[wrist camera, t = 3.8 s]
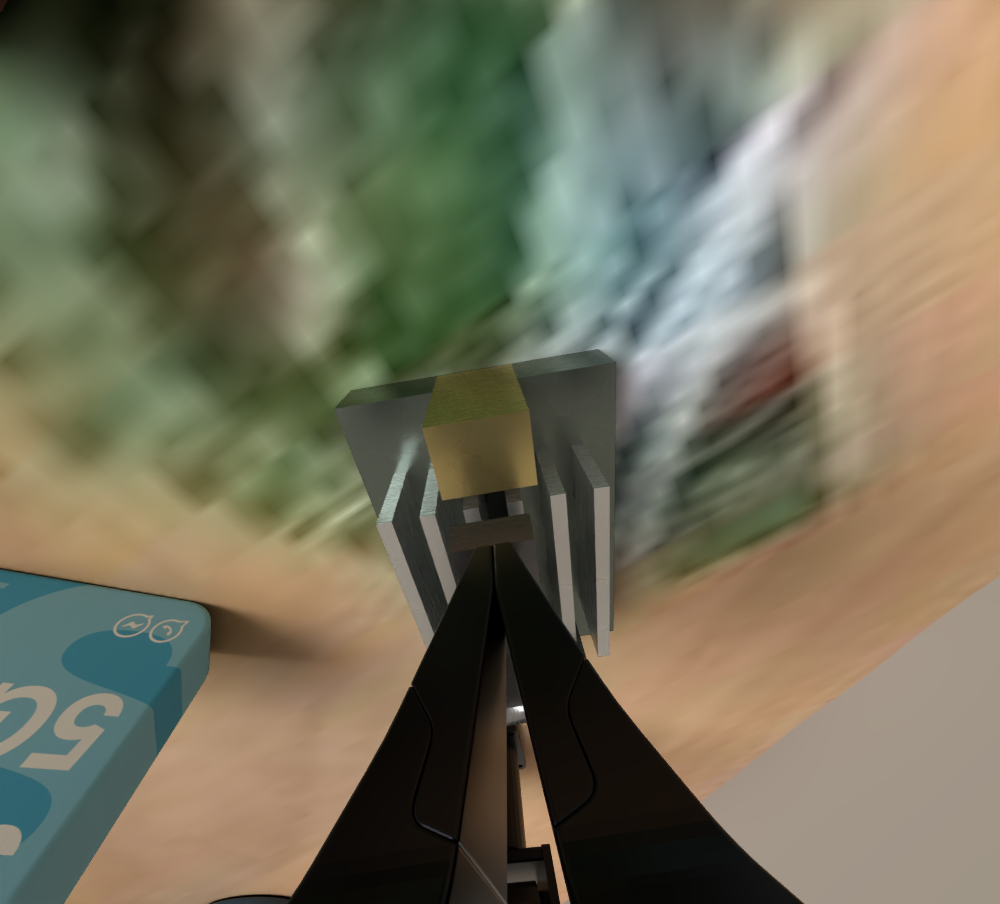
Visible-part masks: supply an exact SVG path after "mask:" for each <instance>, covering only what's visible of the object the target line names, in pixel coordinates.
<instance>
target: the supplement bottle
mask: <svg viewBox="0 0 1000 904" xmlns="http://www.w3.org/2000/svg"><path fill="white" fill-rule="evenodd" d="M7 1H8V0H0V12H1V11H2V10H3V8H4V5H5V4H6V2H7Z"/></svg>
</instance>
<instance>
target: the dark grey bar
mask: <svg viewBox="0 0 1000 904" xmlns="http://www.w3.org/2000/svg"><path fill="white" fill-rule="evenodd" d="M505 542H509V543H511V545H512V546H513V548H514V549H515V551H516V552H517V554H518V555H519V557H520V558H521V560H522V561H523V563H524V564H525V566H526V567H527V569H528V570H529V572H530V573H531V575H532V576H533V578H534V579H535V581H536V582H537V584H538V585H539V587H540V580H539V571H538V562H537V554H536V545H535V538H534V533H533V528H532V523H531V519H530V514H529V513H526V514H520V515H514V516H508V517H502V518H496V519H490V520H483V521H477V522H471V523H465V524H459V525H453V526H450V541H449V554H450V556H451V559H452V562H453V564H454V567H455V570H456V572H457V575H458V578H459V580H460V578H461V576H462V574H463V572H464V570H465V568H466V565H467V563H468V561H469V559H470V557H471V555H472V553H473V551H474V549H475V548H476V547H481V546H487V545H490V546H492V548H493V546H494V545H495V544H499V543H505ZM521 723H527V721H526V717H525V713H524V709H523V705H522V701H521V696H520V692H519V688H518V684H517V680H516V676H515V671H514V667H513V663H512V659H511V655H510V651H509V646H508V642H507V638H506V725H507V726H509V725H515V724H521Z"/></svg>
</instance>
